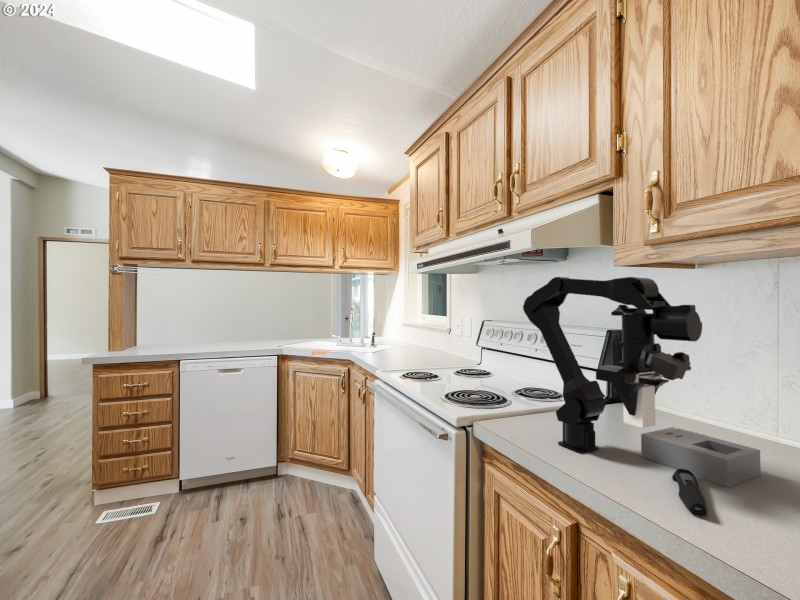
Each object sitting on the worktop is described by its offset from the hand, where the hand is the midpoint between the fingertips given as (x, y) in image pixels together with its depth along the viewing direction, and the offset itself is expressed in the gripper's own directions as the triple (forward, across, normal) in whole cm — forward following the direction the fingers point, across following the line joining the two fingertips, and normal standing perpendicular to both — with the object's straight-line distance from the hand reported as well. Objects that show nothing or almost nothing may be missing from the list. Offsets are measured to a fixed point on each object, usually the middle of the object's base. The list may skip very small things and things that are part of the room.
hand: (638, 413), depth 78 cm
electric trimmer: (+12, -3, -11) cm, 17 cm away
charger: (+2, 0, 0) cm, 2 cm away
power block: (+11, +13, -4) cm, 18 cm away
